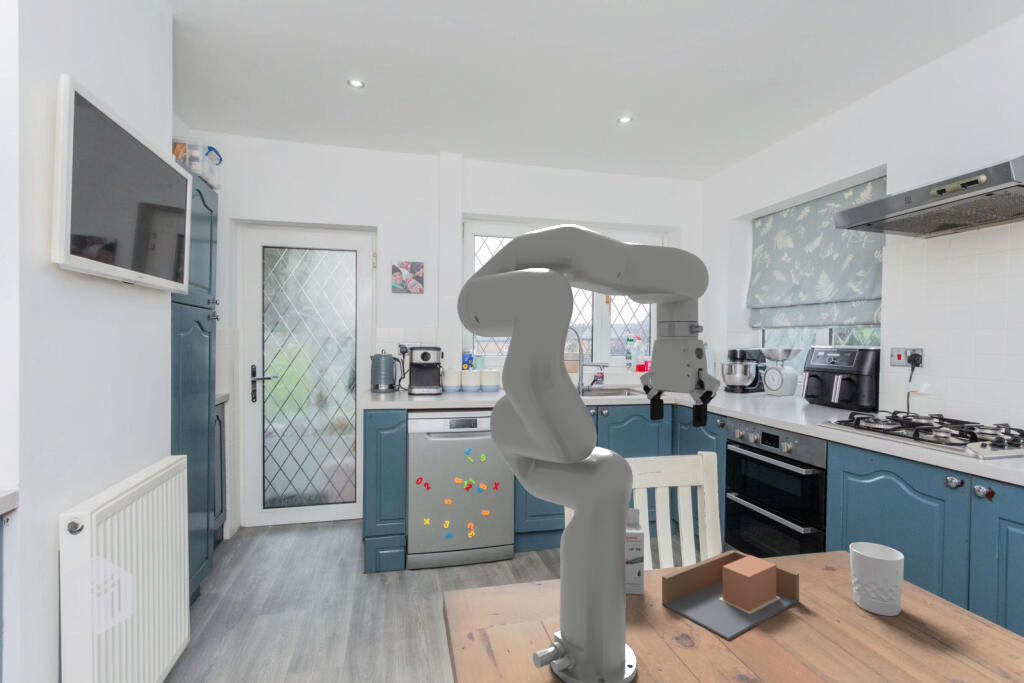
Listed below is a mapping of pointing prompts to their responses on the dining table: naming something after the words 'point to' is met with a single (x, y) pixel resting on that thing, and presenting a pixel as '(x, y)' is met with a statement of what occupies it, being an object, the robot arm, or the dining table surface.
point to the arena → (703, 602)
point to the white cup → (877, 577)
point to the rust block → (749, 582)
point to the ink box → (634, 553)
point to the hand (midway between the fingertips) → (677, 422)
